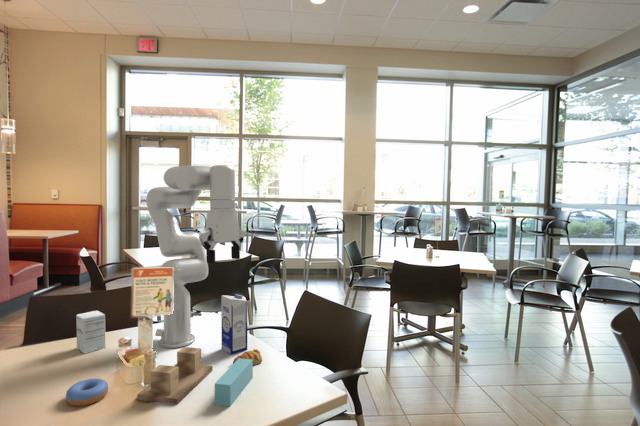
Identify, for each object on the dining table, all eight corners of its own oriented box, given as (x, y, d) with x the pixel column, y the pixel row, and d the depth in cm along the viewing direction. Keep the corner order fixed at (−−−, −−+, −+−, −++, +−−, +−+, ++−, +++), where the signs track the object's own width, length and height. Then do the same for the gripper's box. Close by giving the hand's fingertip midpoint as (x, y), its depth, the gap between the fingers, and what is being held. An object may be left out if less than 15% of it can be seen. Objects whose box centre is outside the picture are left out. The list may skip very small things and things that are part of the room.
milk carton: (221, 348, 138) (221, 294, 137) (237, 344, 142) (237, 291, 141) (231, 355, 133) (230, 298, 132) (247, 349, 137) (247, 295, 136)
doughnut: (82, 387, 110) (81, 372, 109) (115, 389, 109) (115, 375, 109) (57, 409, 100) (56, 393, 99) (94, 412, 99) (93, 396, 99)
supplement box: (76, 348, 137) (75, 314, 136) (98, 342, 143) (98, 309, 142) (83, 354, 132) (82, 318, 132) (106, 348, 138) (105, 313, 137)
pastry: (238, 371, 121) (238, 359, 121) (229, 363, 126) (229, 352, 126) (264, 363, 127) (264, 352, 127) (254, 356, 132) (254, 345, 132)
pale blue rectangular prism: (214, 405, 101) (214, 383, 101) (238, 377, 117) (238, 358, 117) (230, 407, 100) (230, 385, 100) (252, 378, 116) (252, 359, 116)
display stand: (137, 399, 104) (137, 372, 103) (178, 367, 123) (178, 344, 123) (177, 404, 101) (177, 377, 101) (212, 370, 121) (212, 347, 120)
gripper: (235, 205, 126) (236, 256, 127) (191, 206, 112) (192, 263, 113) (251, 205, 122) (252, 258, 122) (207, 206, 108) (208, 265, 108)
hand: (223, 260), depth 117 cm, fingers open, 9 cm apart
